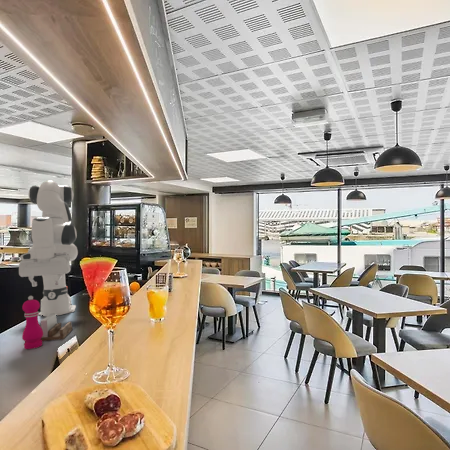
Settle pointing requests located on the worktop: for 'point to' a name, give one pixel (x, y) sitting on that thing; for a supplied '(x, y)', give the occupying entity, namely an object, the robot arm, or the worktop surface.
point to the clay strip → (48, 324)
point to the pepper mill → (32, 324)
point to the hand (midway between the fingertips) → (46, 285)
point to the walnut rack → (58, 332)
